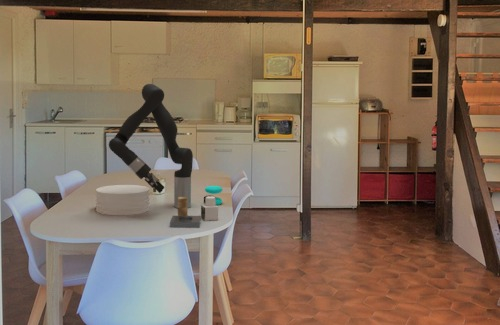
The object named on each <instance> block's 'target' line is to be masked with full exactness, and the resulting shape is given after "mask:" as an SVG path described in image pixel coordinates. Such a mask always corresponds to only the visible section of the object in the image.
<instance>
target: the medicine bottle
mask: <svg viewBox="0 0 500 325" xmlns="http://www.w3.org/2000/svg"><path fill="white" fill-rule="evenodd" d="M216 197H217V196H215V195H212V194H211V195H209V194H208V195H205V196H204V197H203V204H201V205H200V216H201V219H202V220H203V221H205V222H208V221H209V220H213V221H218V220H219V205H215V204H216ZM209 222H210V221H209Z"/></svg>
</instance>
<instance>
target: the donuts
mask: <svg viewBox="0 0 500 325" xmlns="http://www.w3.org/2000/svg"><path fill="white" fill-rule="evenodd" d="M204 192H206V193H207V194H211V195H217V194H220V193H222V192H223V187H221V186H219V185H208V186H206V187H204ZM215 197H216V204H215V205H216V206H220V205H221V204H222V203H223V200H222V199H221V198H220V197H217V196H215Z"/></svg>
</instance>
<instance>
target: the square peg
mask: <svg viewBox="0 0 500 325" xmlns="http://www.w3.org/2000/svg"><path fill="white" fill-rule="evenodd" d="M188 210H189V208H188V197H178V208H177V216H188Z"/></svg>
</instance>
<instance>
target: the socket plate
mask: <svg viewBox="0 0 500 325" xmlns="http://www.w3.org/2000/svg"><path fill="white" fill-rule="evenodd" d="M201 219H202V218H201V215H187V216H178V215H172V216H171V219H170V220H169V221H170V222H169V228H200V226H201V222H200V221H202V220H201Z"/></svg>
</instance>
